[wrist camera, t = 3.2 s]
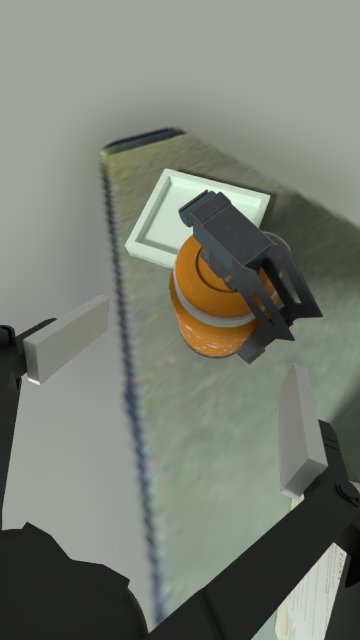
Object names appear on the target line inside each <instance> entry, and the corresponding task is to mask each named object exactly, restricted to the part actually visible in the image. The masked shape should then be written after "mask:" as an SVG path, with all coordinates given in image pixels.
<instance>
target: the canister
mask: <svg viewBox="0 0 360 640" xmlns="http://www.w3.org/2000/svg"><path fill="white" fill-rule="evenodd" d="M178 212H179V216H180V218H181V220H182V222H183V223H184V224H185V225H186V226H187V227H189V228H191V227H192V226H193V234H192V235H191V236H190V237H189V238H188V239H187V240H186V241H185V242H184V244H183V245H182V246H181V248H180V249H179V251H178V253H177V255H176V258H175V262H174V267H173V270H172V272H171V276H170V284H169V289H170V296H171V299H172V303H173V306H174V309H175V313H176V316H177V319H178V323H179V326H180V329H181V333H182V336H183V338H184V340H185V342H186V343H187V345H188V346H189V347H190V348H191V349H192V350H193V351H195V352H196V353H198V354H200V355H202V356H205V357H208V358H225V357H228V356H231V355H233V354H235V353H236V352H237V354H238V355H239V356H240V357H241V358H242V359H243V360H245V361H246V362H247V363H248V364H250V363H252V362H253V361H254V360H255V359H256V358H257V357H259V356H260V355H261V354H262V353H263V352H265V347H266V346H267V345H269V344H270V343H271V342H272V341H274V340H275V339H282V340H290V341H294V340H295V339H294V337H293V335H292V334H291V332H290V330H289V327H290V326H291V325H293V321H294V320H295V319H297V318H312V317H323V315H322V313H321V311H320V309H319V307H318V306H317V304H316V302H315V300H314V298H313V296H312V294H311V292H310V290H309V288H308V286H307V284H306V282H305V280H304V278H303V276H302V274H301V272H300V270H299V268H298V266H297V264H296V263H295V261H294V259H293V257H292V255H291V250H290V248H289V246H288V244H287V243H286V242H285V241H284V240H283V239H282V238H280V237H279V236H277V235H275V234H273V233H270V232H262V231H261V230H260V229H259V228H258V227H257V226H255V225H254V224H253V223H252V222H251V221H250V220H249V219H248V218H247V217H246V216H245V215H243V214H242V213H241V212H240V211H239V210H238V209H237V208H236V207H235V206H234V205H232V203H231V200H230V199H229V198H227V197H226V196H225V195H224V194H223V193H222V192H218V193H217V194H216V193H215V192H214V191H210V192H208V190H207V189H206V190H205V191H204V192H202V193H201V194H199V195H198V196H197V197H195V198H194V199H192V200H191V201H189V202H188V203H187V204H185V205H184V206H182V207H181V208H180V209H178ZM268 236H269V237H272V238H274V239H276V240H277V241H279V242H280V243H281V244H278V243H275V242H273V241H272V240H271V239H270V238H269V237H268ZM283 268H284V270H285V272H286V274H287V275H288V277H289V279H290V281H291V283H292V285H293V287H294V289H295V291H296V293H297V295H298V297H299V299H300V301H301V303H302V304H301V303H297V302H295V300H294V298H293V297H292V295H291V294H290V292H289V290H288V289H287V287H286V286H285V284H284V282H283V281H282V269H283ZM279 297H280V298H281V300H282V302H283V303H284V305H285V306H284V307H283V308H281V309H280V310H279V311H278V309H277V307H276V305H277V302H278V298H279ZM269 316H270V318H269ZM268 318H269V319H268ZM267 319H268V320H267Z"/></svg>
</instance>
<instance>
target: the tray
mask: <svg viewBox="0 0 360 640" xmlns="http://www.w3.org/2000/svg"><path fill="white" fill-rule="evenodd" d="M206 189H207V190H208V192H210V191H214V192H215V193H216V194H217V193H218V192H222V193H223V194H224V195H225V196H226V197H227V198H229V199H230V200H231V203H232V205H234V206H235V207H236V208H237V209H238V210H239V211H240V212H241V213H242V214H243V215H245V216H246V217H247V218H248V219H249V220H250V221H251V222H252V223H253V224H254V225H255V226H257V227H258V228H259V226H260V224H261V221H262V218H263V216H264V213H265V210H266V208H267V205H268V202H269V199H270V195H267V194H263V193H259V192H255V191H251V190H247V189H243V188H239V187H236V186H232V185H228V184H224V183H220V182H216V181H212V180H208V179H205V178H201V177H197V176H193V175H189V174H185V173H181V172H177V171H174V170H170V169H166V168H165V170H164V172H163V174H162V176H161V177H160V179H159V181H158V183H157V185H156V187H155V189H154V191H153V193H152V195H151V197H150V199H149V200H148V202H147V204H146V206H145V208H144V210H143V212H142V214H141V216H140V218H139V220H138V222H137V223H136V225H135V227H134V229H133V231H132V233H131V235H130V237H129V239H128V241H127V243H126V245H125V246H126V248H127V250H128V252H129V254H130V255H131V256H134V257H137V258H140V259H143V260H146V261H149V262H152V263H155V264H158V265H161V266H164V267H167V268H170V269H173V267H174V262H175V258H176V255H177V253H178V251H179V249H180V248H181V246H182V245H183V244H184V242H185V241H186V240H187V239H188V238H189V237H190V236H191V235H192V234H193V226H192V227H191V228H189V227H187V226H186V225H185V224H184V223H183V222H182V220H181V218H180V216H179V212H178V209H180V208H181V207H182V206H184V205H185V204H187V203H188V202H189V201H191V200H192V199H194V198H195V197H197V196H198V195H199V194H201V193H202V192H204V191H205V190H206Z"/></svg>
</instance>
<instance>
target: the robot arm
mask: <svg viewBox="0 0 360 640" xmlns="http://www.w3.org/2000/svg"><path fill="white" fill-rule="evenodd" d="M109 299H110V297H107V296H104V295H101V294H100V295H98V296H96V297H95V298H93V299H91V300H90V301H88V302H86V303H84V304H83V305H81V306H79V307H78V308H76V309H74V310H72V311H71V312H69V313H67V314H66V315H64V316H62V317H61V318H59V319H56V318H52V319H48V320H45V321H43V322H41V323H40V324H38V325H36V326H34V327H33V328H30V329H29V330H27V331H25V332H23V333H22V334H20V335H18V336H16V337H15V331H14V328H12V327H11V326H7V325H0V640H251V639H252V638H253V636H254V635H255V634H256V633H257V632H258V631H259V629H260V628H261V627H262V626H263V625H264V623H265V622H266V621H267V620H268V619H269V618H270V616H271V615H272V614H273V613H274V612H275V611H276V609H277V608H278V607H279V606H280V605H281V603H282V602H283V601H284V600H285V599H286V598H287V596H288V595H289V594H290V593H291V592H292V591H293V589H294V588H295V587H296V586H297V585H298V584H299V582H300V581H301V580H302V579H303V578H304V576H305V575H306V574H307V573H308V572H309V571H310V569H311V568H312V567H313V566H314V565H315V564H316V562H317V561H318V560H319V559H320V558H321V557H322V555H323V554H324V553H325V552H326V551H327V549H328V548H329V547H330V546H331V545H332V544H333V542H334V543H335V544H336V545H337V546H339V547H340V548H341V549H342V550H343V551H345V552H346V553H347V555H346V559H345V563H344V566H343V570H342V574H341V578H340V581H339V585H338V589H337V593H336V596H335V600H334V604H333V608H332V611H331V615H330V619H329V623H328V626H327V630H326V634H325V638H324V640H360V493H359V491H358V490H357V488H356V487H355V486H354V485H353V484H352V483H351V482H350V481H348V477H347V474H346V470H345V466H344V463H343V459H342V455H341V452H340V448H339V444H338V441H337V437H336V433H335V432H334V430H333V429H332V427H331V426H330V424H329V423H326V422H324V421H321V420H319V419H318V417H317V412H316V407H315V403H314V398H313V393H312V389H311V384H310V379H309V374H308V370H307V367H304V366H301V365H299V364H296V363H294V365H293V367H292V369H291V370H290V372H289V374H288V375H287V377H286V379H285V381H284V382H283V384H282V386H281V388H280V389H279V391H278V393H277V407H278V437H279V466H280V492H281V493H283V494H285V495H287V496H289V497H292V498H294V499H296V500H298V499H299V498H300V497H301V495H302V494H304V500H303V501H302V502H300V503H299V504H298V505H297V506H296V507H295V508H294V509H292V510H291V511H290V512H289V513H288V514H287V515H286V516H285V517H283V518H282V519H281V520H280V521H279V522H278V523H277V524H275V525H274V526H273V527H272V528H271V529H270V530H269V531H267V532H266V533H265V534H264V535H263V536H262V537H261V538H260V539H258V540H257V541H256V542H255V543H254V544H253V545H252V546H250V547H249V548H248V549H247V550H246V551H245V552H244V553H242V554H241V555H240V556H239V557H238V558H237V559H236V560H235V561H233V562H232V563H231V564H230V565H229V566H228V567H227V568H225V569H224V570H223V571H222V572H221V573H220V574H219V575H217V576H216V577H215V578H214V579H213V580H212V581H211V582H210V583H208V584H207V585H206V586H205V587H204V588H202V589H200V590H199V591H198V592H196V593H195V594H194V595H193V596H191V597H190V598H189V599H188V600H187V601H186V602H184V603H183V604H182V605H181V606H180V607H179V608H178V609H176V610H175V611H174V612H173V613H172V614H171V615H170V616H168V617H167V618H166V619H165V620H164V621H163V622H162V623H160V624H159V625H158V626H157V627H156V628H155V629H154V630H152V631H151V632H150V633H149V632H148V628H147V624H146V620H145V617H144V615H143V611H142V609H141V607H140V605H139V603H138V601H137V599H136V598H135V596H134V595H133V593H132V592H131V591H130V590H129V589H128V588H127V587H128V584H129V581H130V579H128V578H126V577H124V576H122V575H121V574H119V573H117V572H116V571H114V570H112V569H110V568H108V567H107V566H105V565H103V564H96V563H89V562H83V561H76V560H72V559H70V558H69V557H68V556H67V554H66V553H65V552H64V551H63V550H62V548H61V547H60V546H59V545H58V543H57V542H56V541H55V540H54V539H53V537H52V536H51V535H50V534H48V533H46V532H44V531H43V530H41V529H39V528H37V527H35V526H34V525H32V524H30V523H28V522H26V524H25V525H24V526H23V528H22V529H9V530H2V507H3V500H4V494H5V487H6V480H7V474H8V468H9V462H10V455H11V448H12V442H13V435H14V429H15V422H16V416H17V409H18V402H19V396H20V389H21V383H22V378H21V376H22V375H24V374H25V373H26V372H27V375H28V380H29V381H32V382H34V383H36V384H39V385H41V384H42V383H43V382H44V381H45V380H46V379H48V378H49V377H50V376H51V375H53V374H54V373H55V372H56V371H58V370H59V369H60V368H61V367H62V366H64V365H65V364H66V363H67V362H68V361H69V360H71V359H72V358H73V357H74V356H75V355H77V354H78V353H79V352H80V351H81V350H83V349H84V348H85V347H86V346H88V345H89V344H90V343H91V342H92V341H93V340H95V339H96V338H97V337H98V336H100V335H101V334H102V333H103V332H105V331H106V330H107V325H108V312H109Z"/></svg>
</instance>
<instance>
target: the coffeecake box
mask: <svg viewBox="0 0 360 640" xmlns="http://www.w3.org/2000/svg"><path fill="white" fill-rule="evenodd" d="M348 481H349V480H348ZM350 482H351V483H352V484H353V485H354V486H355V487H356V488H357V490H358V491H359V493H360V484H359V483H356V482H352V481H350ZM303 500H304V494H302V495H301V497H300V498H299V499H298V500H296V499H294V498H292V504H291V510H292V509H294V508H295V507H296V506H297V505H298V504H299V503H300V502H302V501H303ZM346 555H347V553H346V552H345V551H343V550H342V549H341V548H340V547H339V546H337V545H336V544H335V543H334V542H333V544H332V545H331V546H330V547H329V548H328V549H327V551H326V552H325V553H324V554H323V555H322V557H321V558H320V559H319V560H318V561H317V562H316V564H315V565H314V566H313V567H312V568H311V569H310V571H309V572H308V573H307V574H306V575H305V576H304V578H303V579H302V580H301V581H300V582H299V584H298V585H297V586H296V587H295V588H294V589H293V591H292V592H291V593H290V594H289V595H288V596H287V598H286V599H285V600H284V601H283V602H282V603H281V605H280V606H279V607H278V611H277V619H276V627H275V633H276V635H277V638H278V640H324V638H325V634H326V630H327V626H328V623H329V619H330V615H331V611H332V608H333V604H334V600H335V596H336V593H337V589H338V585H339V581H340V578H341V574H342V570H343V566H344V563H345V559H346Z"/></svg>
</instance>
